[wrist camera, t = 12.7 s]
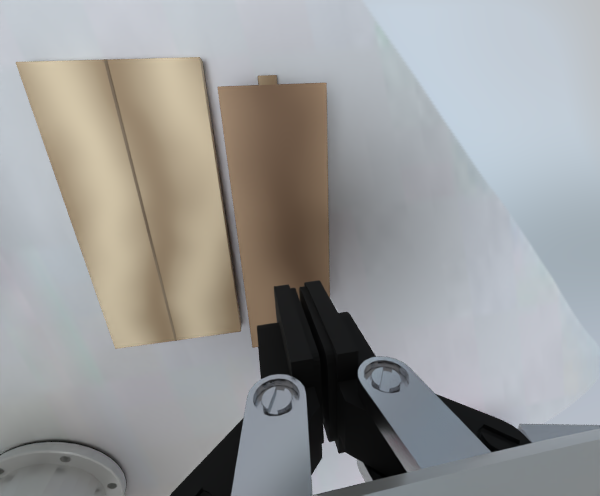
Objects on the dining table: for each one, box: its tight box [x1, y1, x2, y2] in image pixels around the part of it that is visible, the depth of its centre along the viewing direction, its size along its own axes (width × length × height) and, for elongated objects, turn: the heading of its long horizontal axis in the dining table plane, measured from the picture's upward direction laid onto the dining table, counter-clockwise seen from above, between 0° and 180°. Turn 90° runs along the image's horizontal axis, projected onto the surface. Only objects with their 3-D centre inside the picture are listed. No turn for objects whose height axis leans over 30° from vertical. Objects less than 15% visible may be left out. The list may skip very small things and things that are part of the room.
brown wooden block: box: [218, 83, 330, 348], centre depth 21 cm, size 6×16×6 cm, turn 3°
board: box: [16, 57, 277, 349], centre depth 22 cm, size 15×20×1 cm
